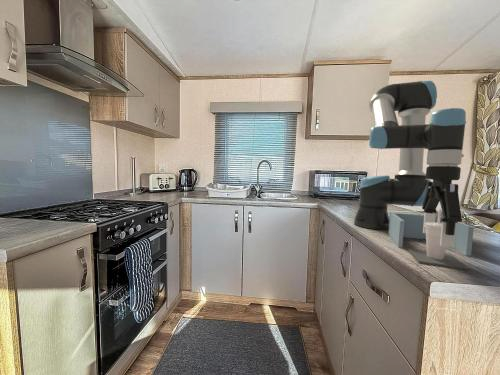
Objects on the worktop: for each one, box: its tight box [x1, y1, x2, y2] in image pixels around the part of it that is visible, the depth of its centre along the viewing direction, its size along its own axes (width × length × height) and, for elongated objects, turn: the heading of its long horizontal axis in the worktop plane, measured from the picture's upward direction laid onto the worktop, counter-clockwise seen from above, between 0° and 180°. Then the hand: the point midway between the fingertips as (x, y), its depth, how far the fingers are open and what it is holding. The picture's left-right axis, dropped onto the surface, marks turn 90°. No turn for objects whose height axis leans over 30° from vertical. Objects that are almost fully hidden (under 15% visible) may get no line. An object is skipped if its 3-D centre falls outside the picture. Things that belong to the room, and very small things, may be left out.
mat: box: [407, 248, 469, 271], centre depth 68 cm, size 11×11×1 cm
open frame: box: [388, 212, 475, 257], centre depth 82 cm, size 17×19×9 cm
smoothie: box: [424, 209, 447, 260], centre depth 67 cm, size 6×6×14 cm
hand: (436, 239), depth 67 cm, fingers open, 13 cm apart
